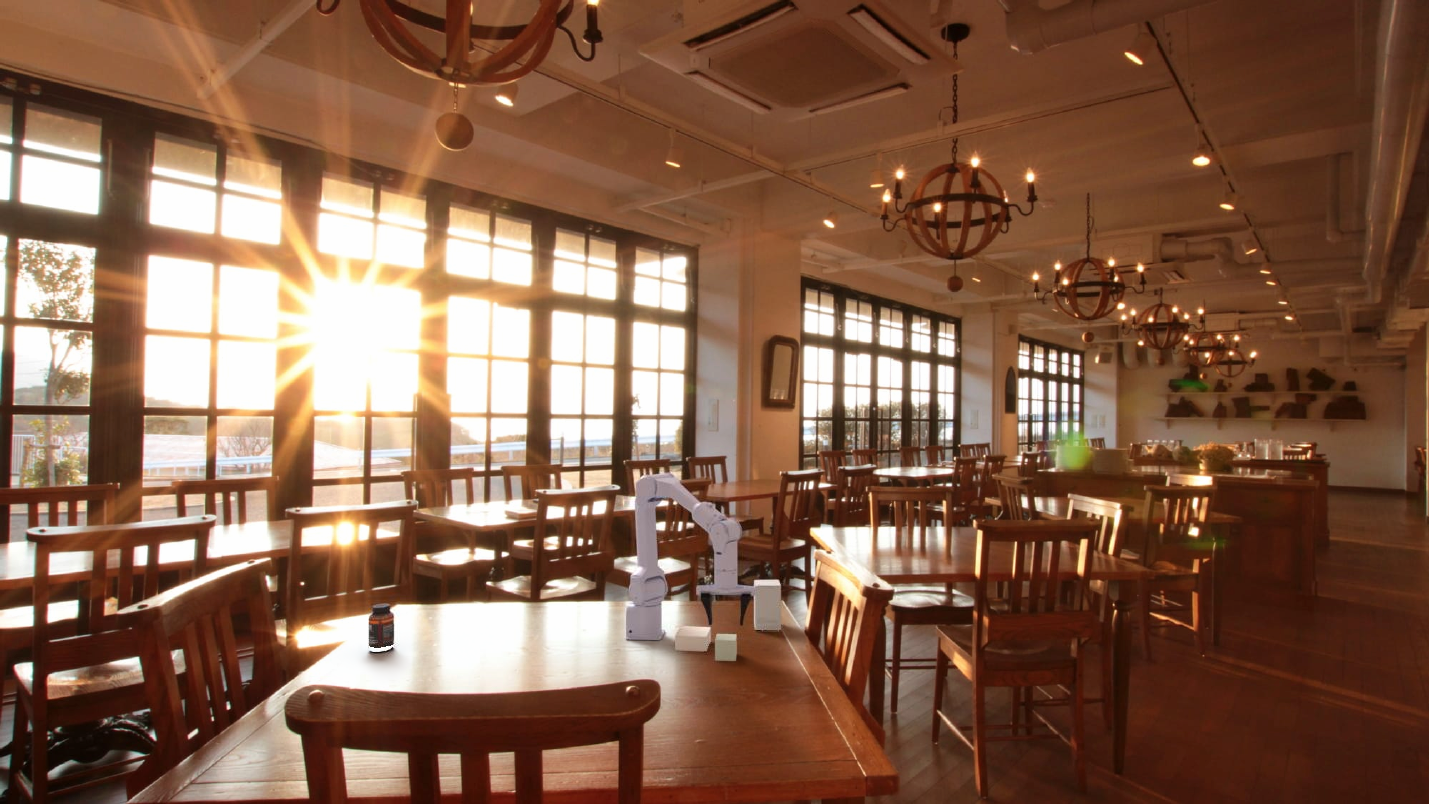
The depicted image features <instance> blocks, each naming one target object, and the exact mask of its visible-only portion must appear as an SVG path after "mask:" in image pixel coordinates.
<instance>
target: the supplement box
mask: <svg viewBox="0 0 1429 804" xmlns="http://www.w3.org/2000/svg"><path fill="white" fill-rule="evenodd" d="M753 586H755V596H753V626H754V631H755V630H762V631H761V632H764V631H763V630H778V631H777V632H780V631H779V630H781V631H782V586H781V583H780V579H754V580H753Z"/></svg>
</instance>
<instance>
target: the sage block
mask: <svg viewBox="0 0 1429 804" xmlns="http://www.w3.org/2000/svg"><path fill="white" fill-rule="evenodd" d="M737 639H738V638H737V634H736V633H733V634H732V633H716V636H715V639H714V661H717V662H718V661H720V662H723V661H727V662H737V654H738V653H737V652H738V650H737V649H738V645H737V641H738V640H737Z"/></svg>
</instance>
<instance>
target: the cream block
mask: <svg viewBox="0 0 1429 804" xmlns="http://www.w3.org/2000/svg"><path fill="white" fill-rule="evenodd" d="M711 643H712V628H711V627H710V626H692V625H691V626H688V625H685V626H684V625H681V626H680V627H679V628H678V629H677V632H676V633H675V635H674V651H685V652H687V651H688V652H704V651H706V652H707V650H708V648H709V647H708V646H710V645H709V644H711Z"/></svg>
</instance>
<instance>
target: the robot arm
mask: <svg viewBox="0 0 1429 804" xmlns="http://www.w3.org/2000/svg"><path fill="white" fill-rule="evenodd" d="M669 498H670V499H672V500H673V501H674V502H675V503H678V504H679V505H681V506H682V507H683V508H685V509H686V510H687V511H689V512H690V513H691V518H692V521H694V522H695V523H696V524H697V525H699V526H700V527H701V528H702V529H703V530H705V532H707V534H708V536H709V539H710V541H711V543H712V549H713V552H714V553H713V555H714V557H713V559H714V561H713V562H714V563H713V565H714V566H713V569H714V570H713V571H714V572H713V573H714V577H713V578H714V584H705V585H704V584H703V585H702V584H701V585H700V584H699V585H696V589H695V590H696V591H695V592H696V594H695V595H696V596H700V601H701V603H702V605H703V607H704V610H705V612H706V615H707V616H706V617H707V621H708V626H712V625H713V609H712V607H713V606H712V605H713V604H712V603H713V602H712V601H713V598H712V597H713V595H720V596H721V595H722V596H740V617H739V626H744V619H745V614H746V612H747V609H748V606H749V604H750V602H751V599H752V597H754V596H755V586H754V585H743V584H738V541H739V540H740V539H741V537H742V534H743V529H742V525H741V524H740V522H739V521H738V519H736V518H733V517H729V518H728V517H727V516H726V514H724V513H721V512H720V511H719V510H717V509H716V508H715V507H714V504H713V503H712V502H709V501H702V502H701V501H699V500H698V499H697V497H696V496H694V495H693V494H692V493H691V492H690V491H689V490H688V489H687V488H685V486H684V485H682V483H681V482H680V479H679V478H678V477H676V476H675V475H674V474H673V473H671V472H664V473H656V474H644V475H641V476H640V478H638V480H637V481H636V482H635V499H634V514H635V515H634V516H635V537H636V554H637V555H636V558H637V567H636V569H635V570H634V571H633V572H632V573H631V575H630V579H629V580H630V582H629V583H630V584H629V586H628V596H629V599H630V600H631V602H628V603H627V605H626V612H625V639H626V640H633V641H634V640H635V641H637V640H639V641H661V640H662V638H663V636H664V635H665V632H666V629H663V626H662V620H663V617H662V616H663V615H662V612H663V611H662V609H663V608H662V605H663V603H662V602H664V597H665V596H667V593H668V590H669V587H668V582H667V579H666V577H665V576H666V575H665V571H664V570H663V569H662V568H661V567H660V566H659V561H658V560H659V559H658V542H657V541H658V540H657V539H658V537H657V519H656V518H657V517H656V508H657V507H658V505H660V504H661V502H663V500H665V499H669Z"/></svg>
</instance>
